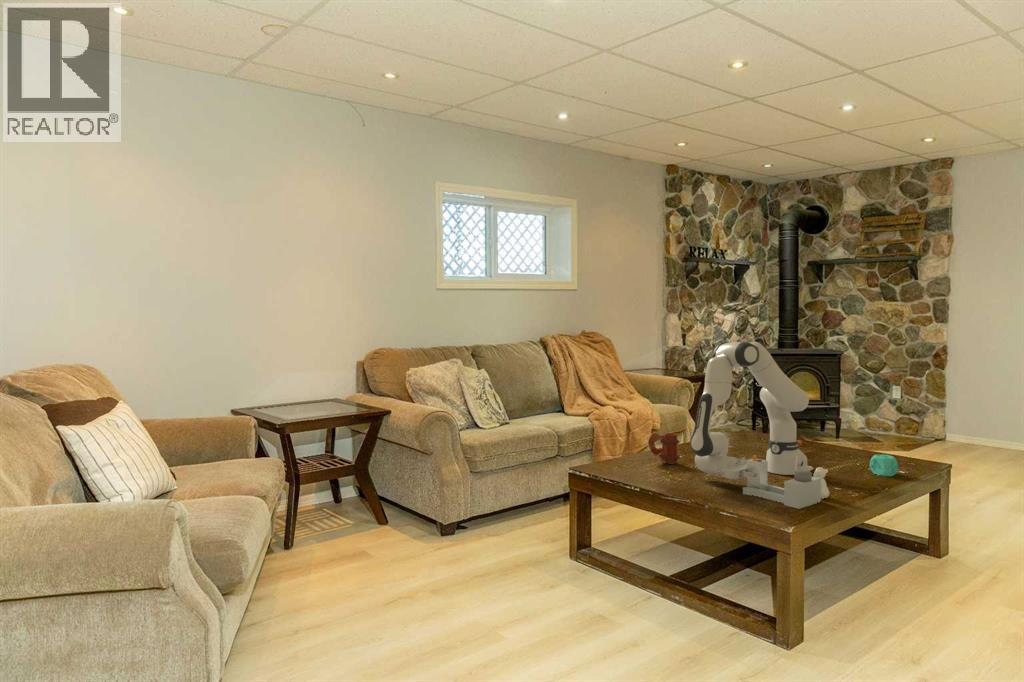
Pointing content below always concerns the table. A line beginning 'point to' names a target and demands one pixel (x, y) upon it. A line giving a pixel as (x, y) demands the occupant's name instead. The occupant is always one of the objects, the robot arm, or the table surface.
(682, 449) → the table surface
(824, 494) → the white creature statuette
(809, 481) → the bracket
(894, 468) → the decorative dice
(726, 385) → the robot arm
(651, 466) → the table surface
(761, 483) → the block
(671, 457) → the mug
